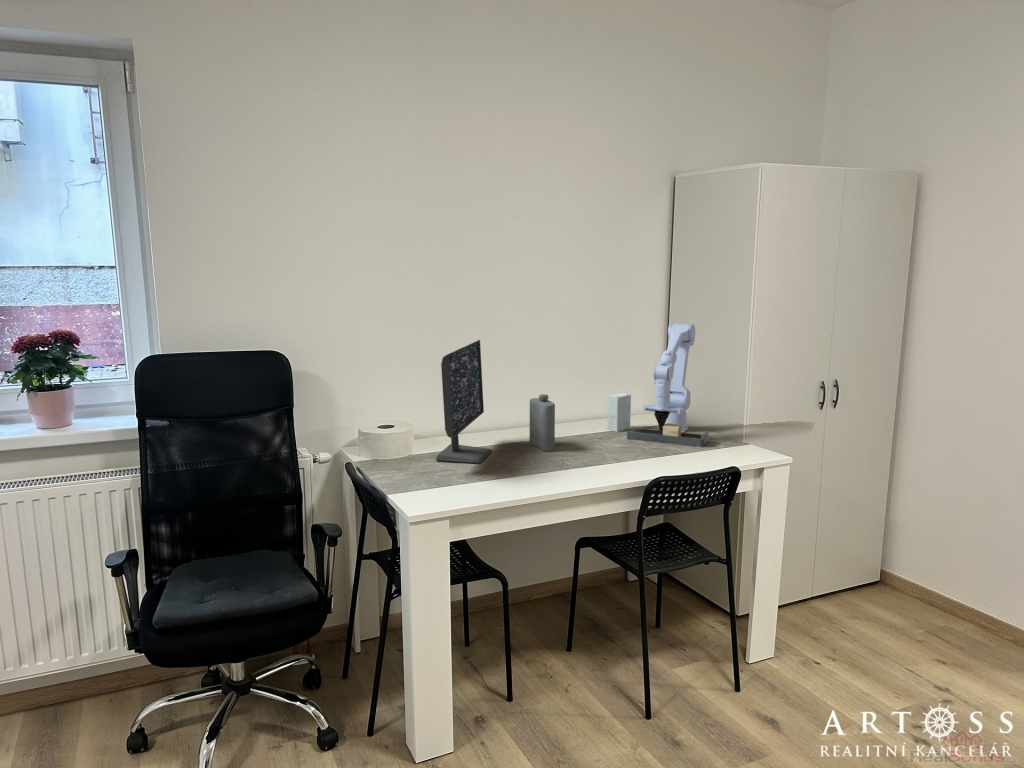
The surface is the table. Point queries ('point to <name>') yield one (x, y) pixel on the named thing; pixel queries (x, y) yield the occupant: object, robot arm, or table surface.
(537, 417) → the flask
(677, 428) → the maple block
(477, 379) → the computer monitor
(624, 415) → the skincare box
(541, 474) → the table surface
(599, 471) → the table surface
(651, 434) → the chute
